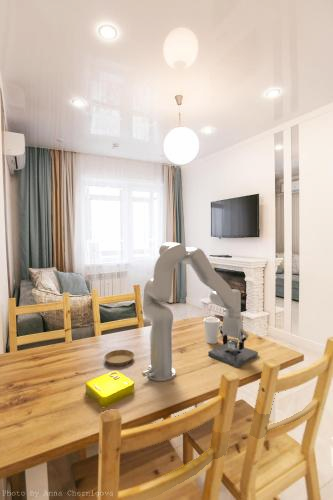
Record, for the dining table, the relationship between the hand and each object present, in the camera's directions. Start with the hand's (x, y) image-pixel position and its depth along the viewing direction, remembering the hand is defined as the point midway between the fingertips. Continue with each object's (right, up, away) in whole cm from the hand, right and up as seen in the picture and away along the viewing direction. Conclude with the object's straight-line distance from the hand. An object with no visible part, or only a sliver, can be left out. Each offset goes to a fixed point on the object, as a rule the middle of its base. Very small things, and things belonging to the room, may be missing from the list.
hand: (233, 346), depth 136 cm
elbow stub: (0, -5, 0) cm, 5 cm away
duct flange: (0, -5, 0) cm, 5 cm away
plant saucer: (-58, -6, -3) cm, 59 cm away
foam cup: (-8, -4, +19) cm, 21 cm away
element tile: (-57, -8, -30) cm, 65 cm away
